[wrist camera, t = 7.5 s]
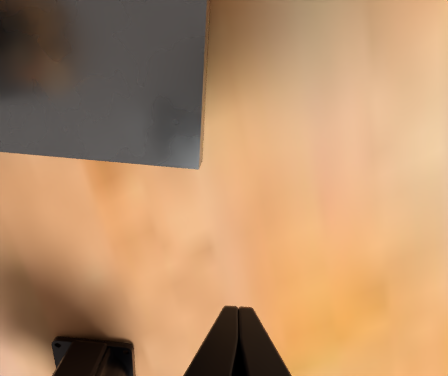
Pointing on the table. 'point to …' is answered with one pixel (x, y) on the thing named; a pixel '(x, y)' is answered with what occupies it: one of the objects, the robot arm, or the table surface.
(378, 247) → the table surface
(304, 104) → the table surface
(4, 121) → the bearing frame
